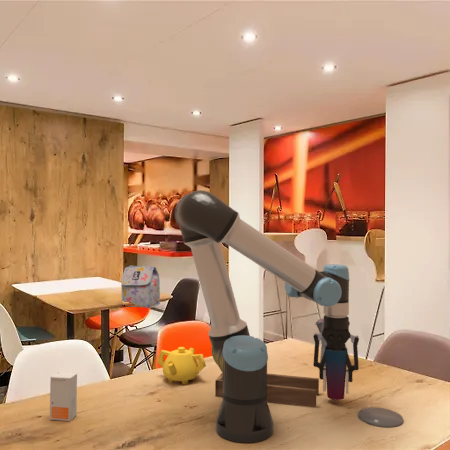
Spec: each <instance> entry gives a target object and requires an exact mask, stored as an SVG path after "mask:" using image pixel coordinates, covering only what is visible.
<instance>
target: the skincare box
mask: <svg viewBox="0 0 450 450" xmlns="http://www.w3.org/2000/svg"><path fill="white" fill-rule="evenodd" d="M49 385H50V390H49V391H50V392H49V394H50V395H49V420H53V421H64V422H71V421H72V420H73V419H74V418H75V417H76V416H77V403H78V402H77V401H78V400H77V396H78V395H77V394H78V389H77V387H78V373H76V372H75V373H73V372H58V371H57V372H56V373H55V374H52V375H51V376H50V382H49Z"/></svg>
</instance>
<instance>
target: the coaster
mask: <svg viewBox="0 0 450 450" xmlns="http://www.w3.org/2000/svg"><path fill="white" fill-rule="evenodd" d="M357 417H358V419H360V421H362V422H363V423H365V424H367V425H370V426H374V427H377V428H378V427H379V428H395V427H399V426H402V425H403V423H404V418H403V416H402V414H400V413H398V412H397V411H393V410H391V409H387V408H383V407H376V406H375V407H372V406H371V407H364V408H361V409H360V410H359V411H358V412H357Z"/></svg>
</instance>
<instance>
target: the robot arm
mask: <svg viewBox="0 0 450 450" xmlns="http://www.w3.org/2000/svg"><path fill="white" fill-rule="evenodd" d="M174 217H175V221H176V224H177V225H178V227H179V230H180V233H181V236H182V240H183V244H184V245H186V246H187V247H189V248H190V250H191V253H192V258H193V261H194V265H195V269H196V273H197V277H198V280H199V284H200V288H201V291H202V292H201V293H202V294H203V299H204V303H205V306H206V309H207V313H208V317H209V321H210V325H211V328H210V329H209V331H208V332H207V333H208V337H209V341H210V344H211V355H212V358H213V360H214V362H215V364H216V365H217V366H218V367H219V370H220V371H221V374H222V373H223V397H222V401H221V404H220V407H219V410H218V414H217V416H216V420H215V432H216V433H217V435H218V436H220V437H221V438H223V439H224V440H228V441H231V442H236V443H243V444H244V443H256V442H261V441H264V440H267V439H268V438H269V437H270V438H271V436H272V435H273V434H274V419H273V417H272V412H271V410H270V407H269V404H268V403H269V402H267V374H268V360H269V354H268V347H267V345H266V343H265V342H264V340H262V339H260V338H259V337H255V336H251V335H250V331H249V327H248V324H247V321H245V320H243V319H241V318H240V314H239V313H240V312H239V310H238V306H237V303H236V302H237V301H236V298H235V295H234V291H233V287H232V282H231V280H230V276H229V271H228V269H227V268H228V267H227V264H226V261H225V257H224V252H223V249H222V245H221V244H223V243H224V244H226V246H229V247H230V248H232V249H233V250H235V251H236V252H238V253H239V254H241V255H243V257H246V258H247V259H249V260H250V261H251V262H253V263H254V264H257V265H258V266H259V267H261V268H263V270H265V271H267V272H269V273H270V274H272V275H273V276H274V277H277V278H278V279H279V280H281V281H282V282H284V288H285V289H284V290H285V293H286V295H287V296H288V297H289V298H297V299H298V298H304V299H307V300H309V301H312V302H314V303H316V304H318V305H320V306H321V307H323V314H324V315H323V318H324V325H323V331H322V333H319V332H318V333H317V332H315V333H313V341H314V352H313V367H315V368H318V371H319V374H318V375H319V380H321V381H322V380H323V381H322V392H326V393H327V382H326V367H324V365H325V362H326V355H325V351H324V354H323V357H322V360H321V363H320V361H319V354H320V353H319V351H320V341H321V337H322V336H323V338H324V339H325V340H326V342H327V345H326V349H328V350H330V347H331V346H338V347H341V349H342V351H344V350H346V348H347V346H346V343H347V342H348V341H349V340H350V342H351V343H352V346H353V347H352V350H353V364H352V362H351V359H350V356H349V351H347V352H346V378H345V394H348V395H349V383H353V372H354V371H358V370H359V369H360V368H359V349H358V345H359V340H360V338H359V336H358V335H353V334H351V332H350V331H349V330H350V328H349V327H350V325H349V322H350V321H349V320H350V319H349V318H350V317H349V316H348V315H350V314H349V313H350V310H349V309H350V303H349V302H350V299H349V297H350V296H349V295H350V272H349V271H350V270H349V267H348V266H347V265H345V264H335V263H334V264H325V265H323V270H322V271H319V270H317V269H316V268H314V267H313V266H311V265H310V264H308V263H306V262H305V261H304V260H302V259H301V258H299V257H298V256H296V255H294V254H293V253H292V252H290V251H289V250H287V249H285V248H284V247H283V246H282V245H280V244H278V243H277V242H275V241H274V240H272V239H271V238H269V237H268V236H267V235H265V234H264V233H262V232H260V231H259V230H257V229H256V228H255V227H254V226H252V225H250V224H248V223H247V222H246V221H244V220H243V219H241V217H240V213H239V212H238V211H237V210H235V209H233V208H232V206H231V207H230V206H229V205H228V204H227V203H226V202H224V201H223V200H222V199H220V198H219V197H218V196H217V195H215V194H214V193H212V192H210V191H206V190H202V189H201V190H194V191H192V192H190V193H188V194H185V195H183V196H182V197H181V198H180V200H179V201H178V202H177V204H176V206H175V211H174Z"/></svg>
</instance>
